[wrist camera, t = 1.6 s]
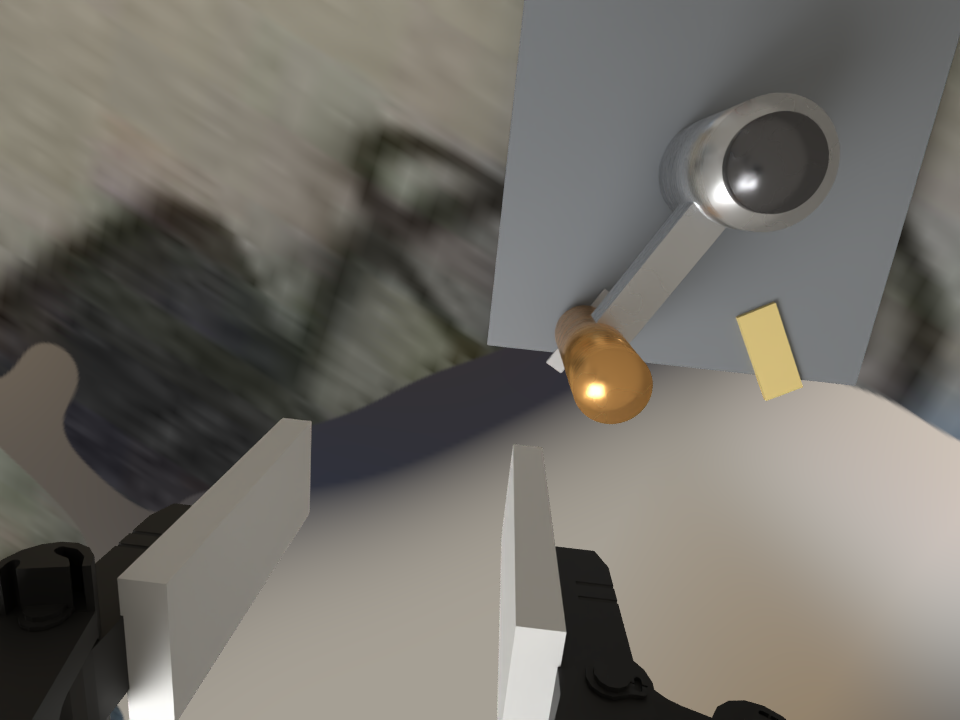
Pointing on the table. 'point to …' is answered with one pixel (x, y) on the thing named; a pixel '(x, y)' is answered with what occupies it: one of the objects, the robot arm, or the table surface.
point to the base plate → (672, 107)
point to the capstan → (699, 232)
